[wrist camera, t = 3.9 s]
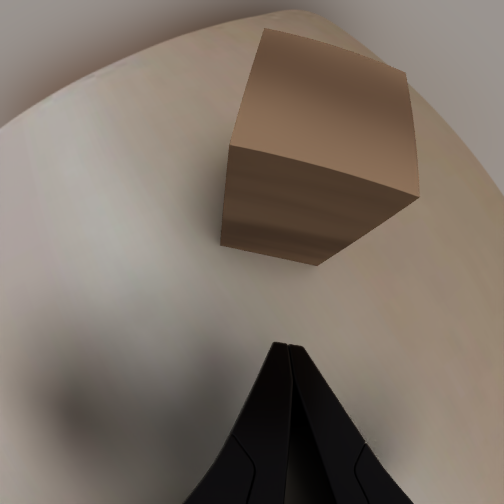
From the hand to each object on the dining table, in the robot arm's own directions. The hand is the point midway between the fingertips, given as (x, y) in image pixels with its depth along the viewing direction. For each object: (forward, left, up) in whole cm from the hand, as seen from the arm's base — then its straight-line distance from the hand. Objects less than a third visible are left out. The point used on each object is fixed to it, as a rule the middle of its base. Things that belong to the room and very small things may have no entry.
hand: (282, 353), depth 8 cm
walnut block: (+5, +5, -7) cm, 10 cm away
